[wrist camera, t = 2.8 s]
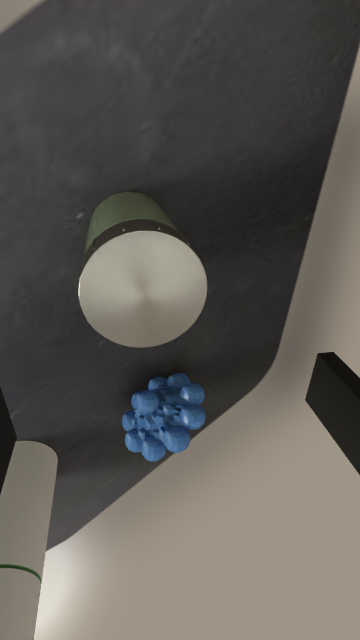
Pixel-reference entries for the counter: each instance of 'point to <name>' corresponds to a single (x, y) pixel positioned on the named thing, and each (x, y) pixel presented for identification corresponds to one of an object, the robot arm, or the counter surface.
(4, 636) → the container
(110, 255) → the flask lid
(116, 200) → the flask
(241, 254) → the counter surface
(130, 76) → the counter surface
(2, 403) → the robot arm
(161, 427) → the grapes
